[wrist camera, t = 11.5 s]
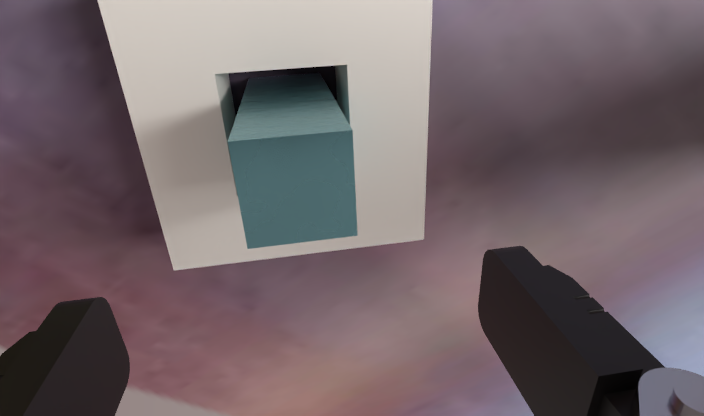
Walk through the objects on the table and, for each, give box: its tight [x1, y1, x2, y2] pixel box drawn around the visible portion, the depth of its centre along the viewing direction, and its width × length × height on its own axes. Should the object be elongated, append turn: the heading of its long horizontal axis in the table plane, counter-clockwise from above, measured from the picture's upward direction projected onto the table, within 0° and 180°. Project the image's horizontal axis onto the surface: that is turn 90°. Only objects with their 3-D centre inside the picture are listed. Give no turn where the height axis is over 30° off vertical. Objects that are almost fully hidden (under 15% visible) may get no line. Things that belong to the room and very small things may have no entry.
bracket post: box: [228, 73, 358, 249], centre depth 20 cm, size 4×4×12 cm
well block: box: [98, 0, 432, 270], centre depth 23 cm, size 14×14×5 cm
